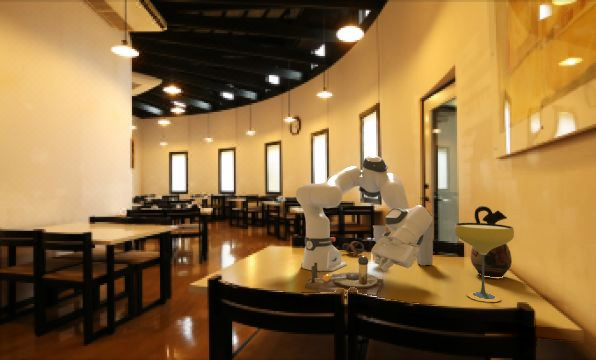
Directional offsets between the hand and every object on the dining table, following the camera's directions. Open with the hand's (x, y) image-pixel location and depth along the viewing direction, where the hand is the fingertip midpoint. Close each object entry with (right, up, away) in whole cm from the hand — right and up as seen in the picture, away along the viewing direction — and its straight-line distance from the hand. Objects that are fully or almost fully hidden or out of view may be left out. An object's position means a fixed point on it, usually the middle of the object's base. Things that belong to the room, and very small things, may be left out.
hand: (380, 269), depth 125 cm
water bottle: (+32, -9, +43) cm, 54 cm away
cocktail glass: (+34, -8, -6) cm, 36 cm away
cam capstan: (-11, -5, +2) cm, 13 cm away
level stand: (-13, -8, +4) cm, 16 cm away
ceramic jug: (+52, -9, +23) cm, 57 cm away
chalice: (+10, -9, +46) cm, 48 cm away
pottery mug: (0, -9, +65) cm, 66 cm away
